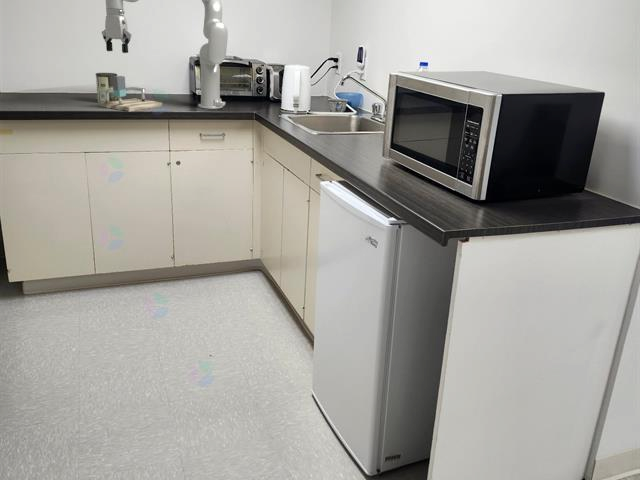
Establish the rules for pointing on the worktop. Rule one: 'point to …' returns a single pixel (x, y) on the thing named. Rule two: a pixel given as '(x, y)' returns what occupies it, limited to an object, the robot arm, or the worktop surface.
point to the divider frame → (126, 90)
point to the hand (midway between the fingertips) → (117, 51)
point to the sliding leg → (119, 87)
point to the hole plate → (131, 104)
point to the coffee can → (105, 86)
